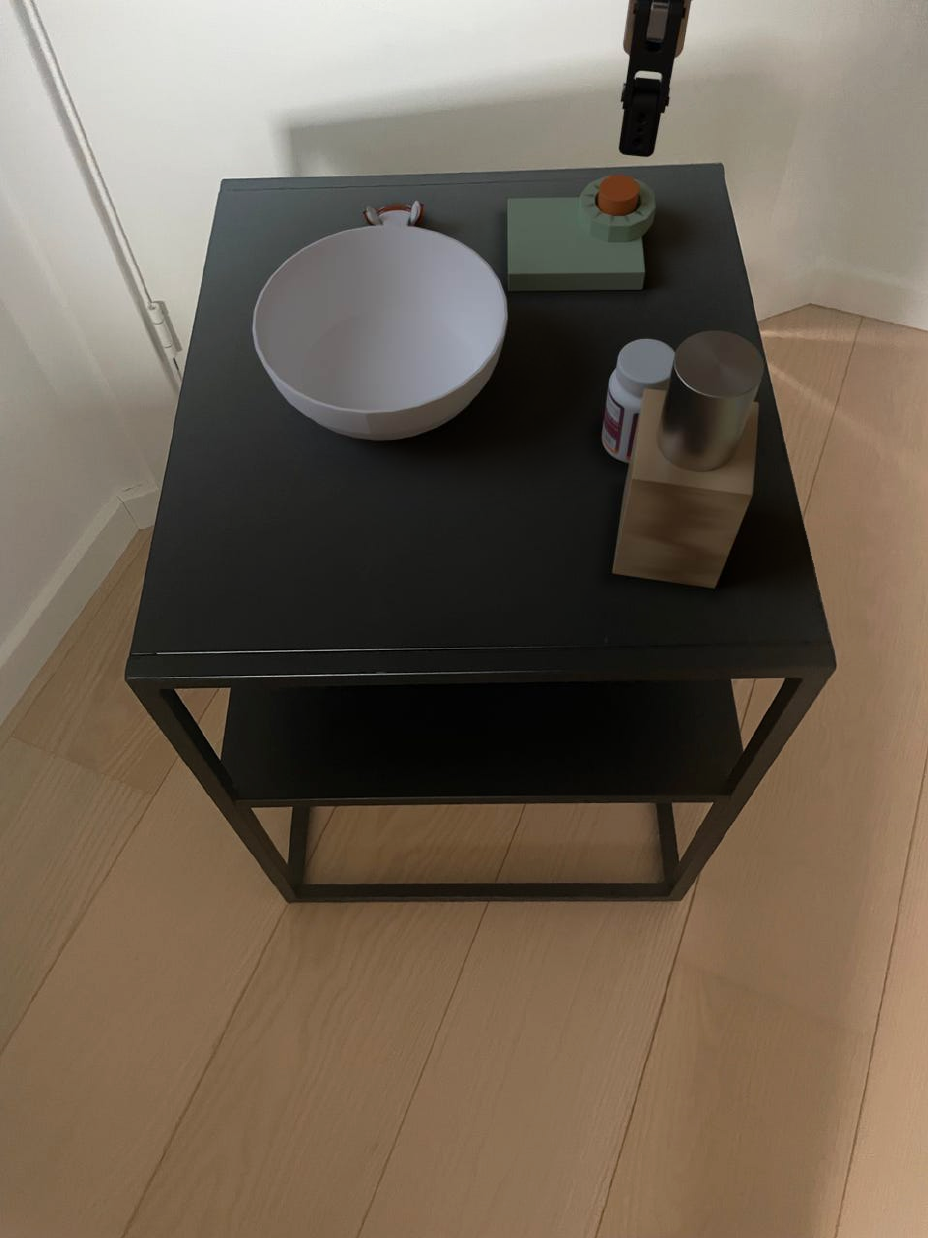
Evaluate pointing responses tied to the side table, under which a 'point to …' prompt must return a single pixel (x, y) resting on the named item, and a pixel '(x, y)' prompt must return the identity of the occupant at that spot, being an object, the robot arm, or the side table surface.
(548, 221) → the green board with knob
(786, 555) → the side table surface
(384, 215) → the toy car
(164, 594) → the side table surface
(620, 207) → the button
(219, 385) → the side table surface
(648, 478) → the block
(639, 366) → the pill bottle
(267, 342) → the bowl
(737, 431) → the spice tin
